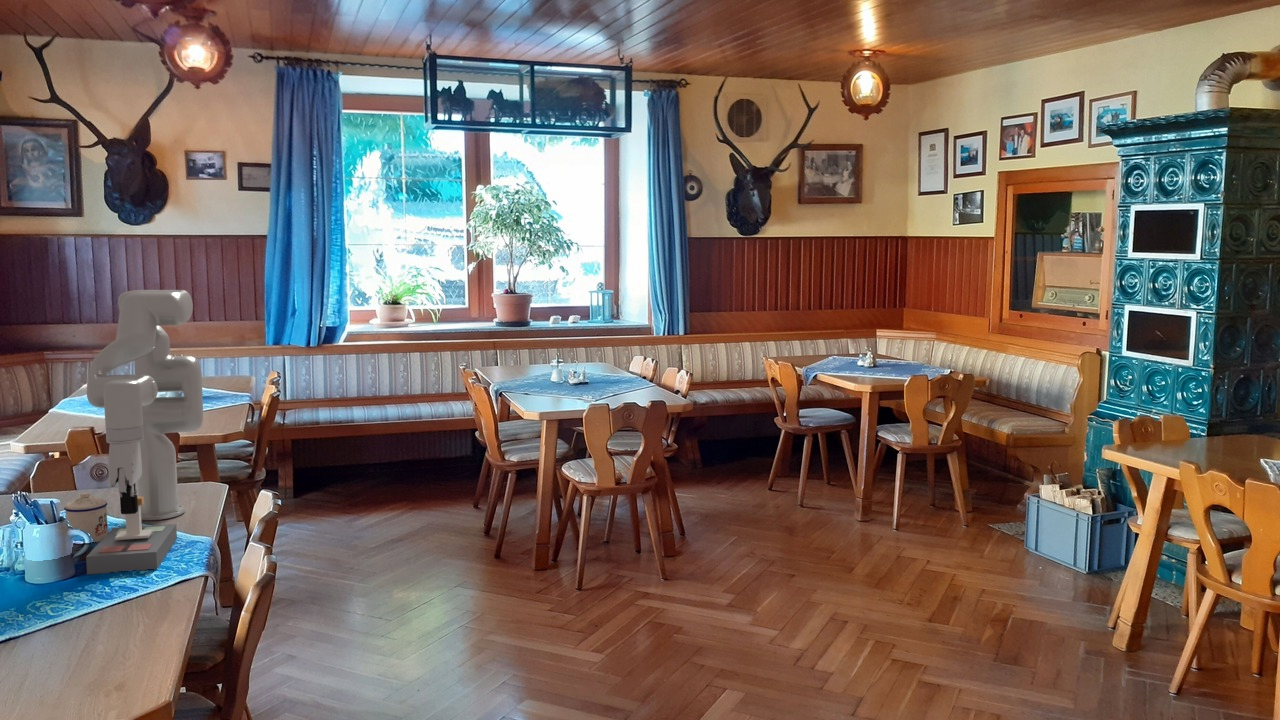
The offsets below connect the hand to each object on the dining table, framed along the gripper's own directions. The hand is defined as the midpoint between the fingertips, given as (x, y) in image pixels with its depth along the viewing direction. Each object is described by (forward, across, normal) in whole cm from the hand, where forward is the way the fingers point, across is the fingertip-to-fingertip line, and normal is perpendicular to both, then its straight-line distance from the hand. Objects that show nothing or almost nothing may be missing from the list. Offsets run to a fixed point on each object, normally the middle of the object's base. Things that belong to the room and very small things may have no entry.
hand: (129, 512), depth 217 cm
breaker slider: (+6, -3, 0) cm, 7 cm away
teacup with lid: (+11, -20, -14) cm, 27 cm away
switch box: (+11, -2, 0) cm, 11 cm away
